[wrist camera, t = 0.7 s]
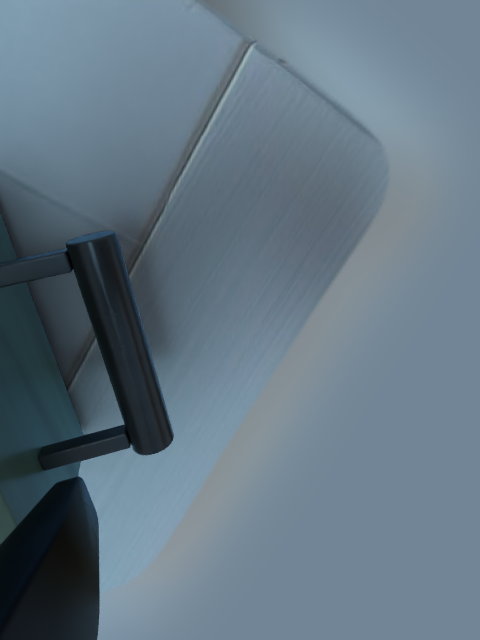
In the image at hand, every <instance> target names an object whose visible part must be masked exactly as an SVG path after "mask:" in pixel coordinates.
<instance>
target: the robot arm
mask: <svg viewBox="0 0 480 640" xmlns="http://www.w3.org/2000/svg"><path fill="white" fill-rule="evenodd" d="M98 625H99V525H98V517H97V513H96V510H95V507H94V505H93V502H92V500H91V497H90V495H89V492H88V490H87V487H86V485H85V483H84V481H83V479H82V478H80V477H73V478H70V479H66V480H63V481H59V482H57V483H55V484H54V485H53V486H52V488H51V489H50V490H49V491H48V492H47V493H46V494H45V495H44V496H43V498H42V499H41V500H40V501H39V502H38V503H37V504H36V505H35V506H34V508H33V509H32V510H31V511H30V512H29V513H28V514H27V515H26V517H25V518H24V519H23V520H22V521H21V522H20V523H19V524H18V525H17V527H16V528H15V529H14V530H13V531H12V532H11V533H10V534H9V535H8V537H7V538H6V539H5V540H4V541H3V542H2V543H1V544H0V640H97V636H98Z"/></svg>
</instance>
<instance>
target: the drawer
mask: <svg viewBox="0 0 480 640" xmlns="http://www.w3.org/2000/svg"><path fill="white" fill-rule="evenodd" d="M73 269H74V272H75V275H76V278H77V281H78V284H79V288H80V291H81V294H82V297H83V300H84V303H85V306H86V309H87V312H88V315H89V318H90V321H91V324H92V327H93V330H94V333H95V336H96V339H97V342H98V345H99V348H100V351H101V354H102V357H103V360H104V363H105V366H106V369H107V372H108V375H109V378H110V381H111V384H112V387H113V390H114V393H115V396H116V399H117V402H118V406H119V409H120V412H121V415H122V418H123V421H124V424H125V425H121V426H117V427H113V428H110V429H106V430H102V431H98V432H95V433H91V434H87V435H83V432H82V429H81V427H80V424H79V421H78V419H77V416H76V413H75V411H74V408H73V405H72V403H71V400H70V397H69V395H68V392H67V389H66V387H65V384H64V381H63V379H62V376H61V373H60V371H59V368H58V365H57V363H56V360H55V357H54V355H53V352H52V349H51V347H50V344H49V341H48V339H47V336H46V333H45V331H44V328H43V325H42V323H41V320H40V317H39V315H38V312H37V309H36V307H35V304H34V301H33V299H32V296H31V293H30V291H29V288H28V286H27V283H26V282H29V281H34V280H38V279H43V278H47V277H52V276H56V275H61V274H65V273H70V272H72V270H73ZM173 437H174V434H173V430H172V427H171V423H170V420H169V416H168V413H167V409H166V406H165V402H164V399H163V395H162V391H161V388H160V384H159V381H158V377H157V374H156V370H155V367H154V363H153V360H152V356H151V353H150V349H149V346H148V342H147V339H146V335H145V332H144V328H143V325H142V321H141V318H140V314H139V311H138V307H137V304H136V300H135V297H134V293H133V290H132V286H131V283H130V279H129V276H128V272H127V268H126V265H125V261H124V258H123V254H122V251H121V247H120V244H119V240H118V237H117V234H116V232H115V231H103V232H97V233H92V234H88V235H84V236H80V237H77V238H74V239H72V240H69V241H68V242H67V243H66V248H65V249H61V250H56V251H51V252H47V253H42V254H37V255H33V256H28V257H24V258H19V259H17V256H16V254H15V251H14V248H13V246H12V243H11V240H10V238H9V235H8V232H7V230H6V227H5V224H4V222H3V219H2V216H1V214H0V544H1V543H2V542H3V541H4V540H5V539H6V538H7V537H8V535H9V534H10V533H11V532H12V531H13V530H14V529H15V528H16V527H17V525H18V524H19V523H20V522H21V521H22V520H23V519H24V518H25V517H26V515H27V514H28V513H29V512H30V511H31V510H32V509H33V508H34V506H35V505H36V504H37V503H38V502H39V501H40V500H41V499H42V498H43V496H44V495H45V494H46V493H47V492H48V491H49V490H50V489H51V488H52V486H53V485H54V484H55V483H57V482H59V481H63V480H66V479H70V478H73V477H78V472H79V468H80V463H81V461H83V460H87V459H90V458H94V457H98V456H101V455H105V454H109V453H112V452H116V451H120V450H123V449H127V448H129V447H130V445H132V448H133V450H134V451H135V452H136V453H138V454H140V455H151V454H155V453H158V452H160V451H162V450H164V449H165V448H167V447H168V446H169V445H170V444H171V442H172V441H173Z"/></svg>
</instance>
